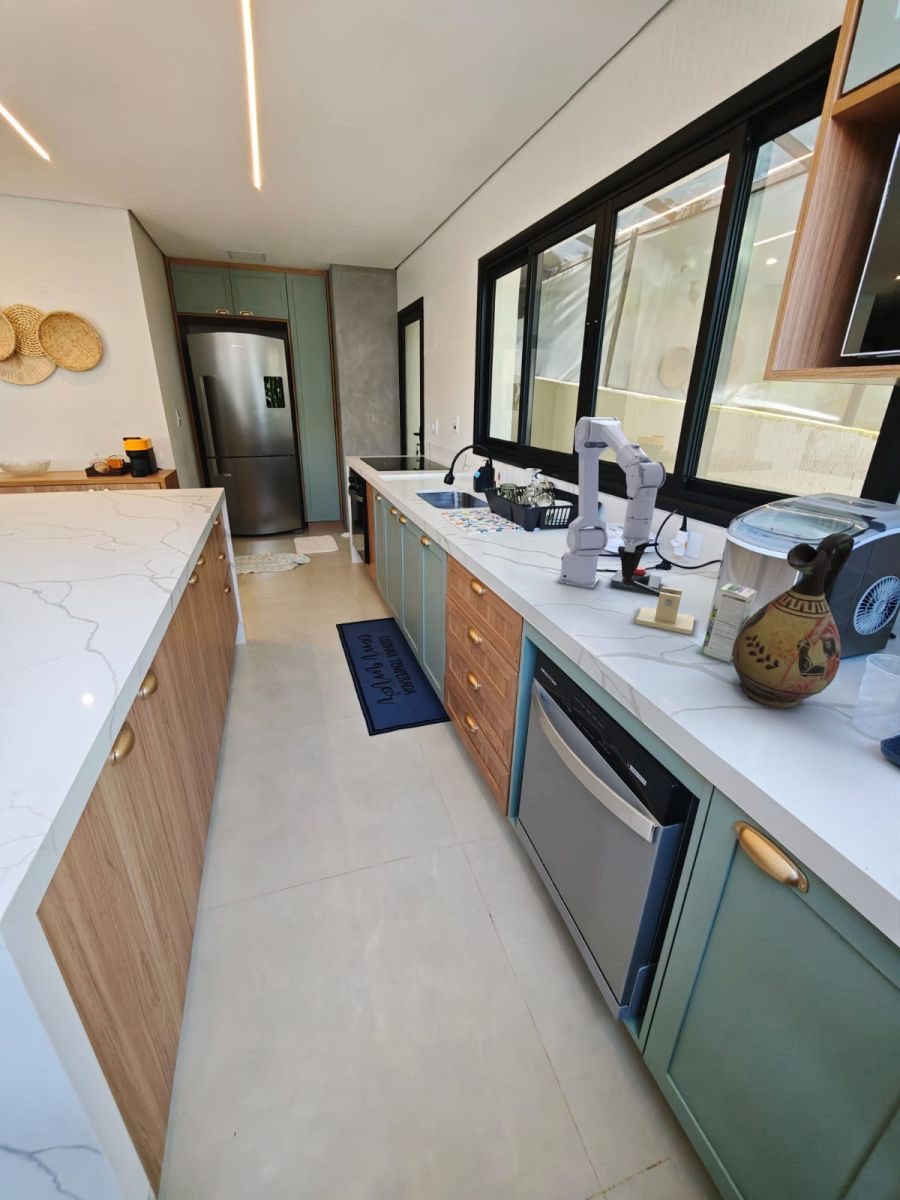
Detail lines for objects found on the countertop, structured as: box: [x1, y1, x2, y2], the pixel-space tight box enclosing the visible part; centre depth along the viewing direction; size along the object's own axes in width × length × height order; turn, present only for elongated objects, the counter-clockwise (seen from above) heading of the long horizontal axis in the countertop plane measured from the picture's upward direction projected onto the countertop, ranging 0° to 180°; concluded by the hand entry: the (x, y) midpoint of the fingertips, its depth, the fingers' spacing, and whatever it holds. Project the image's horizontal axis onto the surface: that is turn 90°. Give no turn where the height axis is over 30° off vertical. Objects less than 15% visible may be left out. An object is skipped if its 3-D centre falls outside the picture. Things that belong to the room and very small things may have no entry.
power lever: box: [622, 577, 676, 598], centre depth 118 cm, size 13×3×3 cm, turn 63°
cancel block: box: [610, 569, 663, 595], centre depth 140 cm, size 12×10×4 cm
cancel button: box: [634, 565, 647, 575], centre depth 139 cm, size 4×4×2 cm
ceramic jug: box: [732, 532, 855, 709], centre depth 85 cm, size 17×15×30 cm
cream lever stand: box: [635, 586, 696, 636], centre depth 117 cm, size 12×9×8 cm
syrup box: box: [700, 583, 758, 663], centre depth 102 cm, size 6×6×14 cm
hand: (629, 573), depth 119 cm, fingers open, 5 cm apart
